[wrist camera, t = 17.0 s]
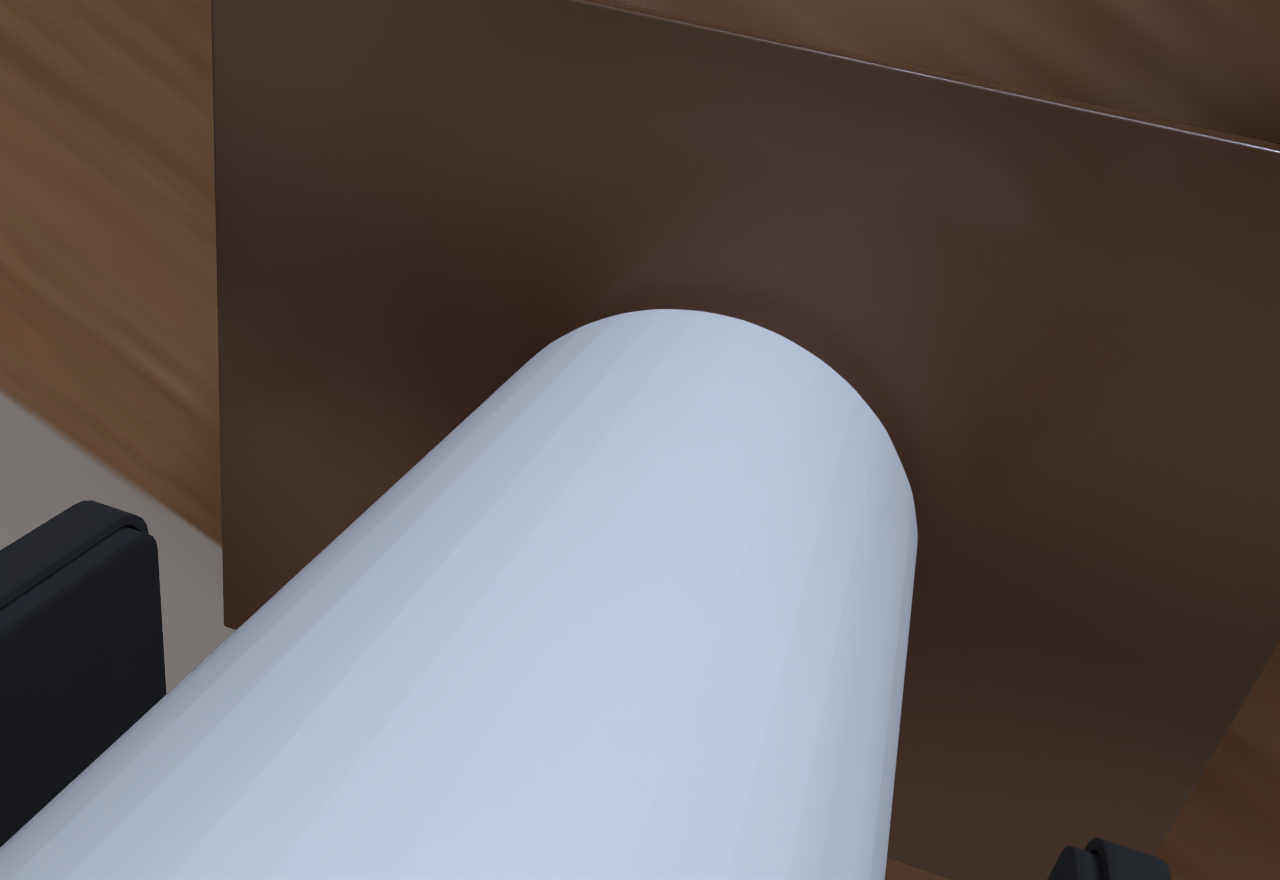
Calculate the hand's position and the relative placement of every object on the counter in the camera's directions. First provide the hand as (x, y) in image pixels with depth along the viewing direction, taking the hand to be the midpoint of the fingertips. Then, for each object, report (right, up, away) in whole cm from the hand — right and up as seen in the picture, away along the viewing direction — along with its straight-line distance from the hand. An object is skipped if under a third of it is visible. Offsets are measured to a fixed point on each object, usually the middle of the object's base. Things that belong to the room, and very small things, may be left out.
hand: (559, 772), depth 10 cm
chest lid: (+2, +3, +6) cm, 7 cm away
